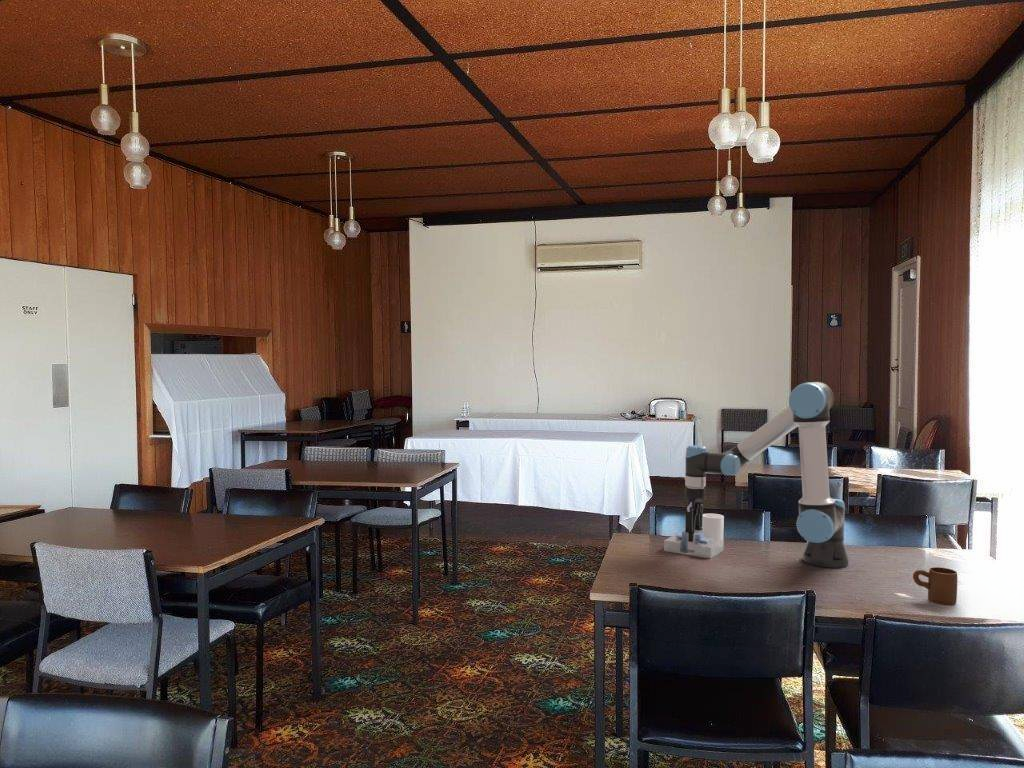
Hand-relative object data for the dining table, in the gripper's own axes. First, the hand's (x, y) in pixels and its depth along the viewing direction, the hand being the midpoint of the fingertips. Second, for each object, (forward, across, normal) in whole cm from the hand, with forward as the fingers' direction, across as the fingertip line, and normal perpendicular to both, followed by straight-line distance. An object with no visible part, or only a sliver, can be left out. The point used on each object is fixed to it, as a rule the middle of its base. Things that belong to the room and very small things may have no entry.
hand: (693, 548), depth 282 cm
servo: (+1, 0, 0) cm, 1 cm away
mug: (0, +12, +80) cm, 81 cm away
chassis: (+1, 0, 0) cm, 1 cm away
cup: (+1, -18, -1) cm, 18 cm away
